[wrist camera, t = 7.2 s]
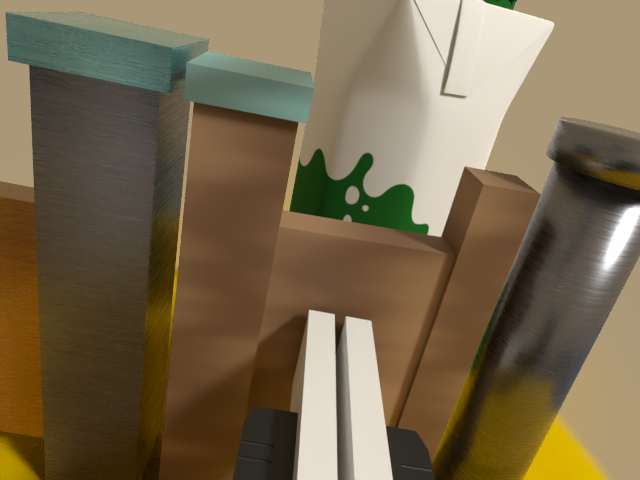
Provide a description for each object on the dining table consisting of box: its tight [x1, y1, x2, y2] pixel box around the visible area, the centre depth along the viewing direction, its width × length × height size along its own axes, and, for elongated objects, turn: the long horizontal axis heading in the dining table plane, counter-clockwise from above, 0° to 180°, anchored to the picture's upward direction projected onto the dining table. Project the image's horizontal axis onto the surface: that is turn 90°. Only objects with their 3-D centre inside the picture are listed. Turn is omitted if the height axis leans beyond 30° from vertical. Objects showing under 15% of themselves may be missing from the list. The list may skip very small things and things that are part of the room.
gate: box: [159, 52, 541, 480], centre depth 15 cm, size 9×3×14 cm, turn 93°
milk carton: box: [290, 0, 554, 237], centre depth 26 cm, size 9×9×20 cm
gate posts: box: [0, 12, 640, 480], centre depth 16 cm, size 21×4×15 cm, turn 89°
